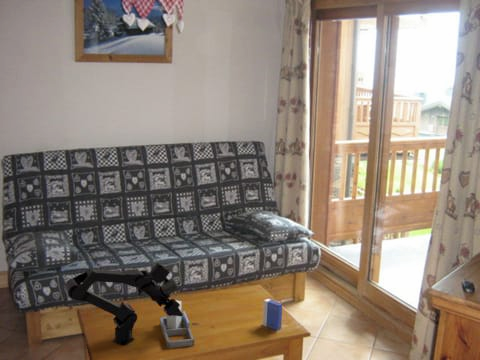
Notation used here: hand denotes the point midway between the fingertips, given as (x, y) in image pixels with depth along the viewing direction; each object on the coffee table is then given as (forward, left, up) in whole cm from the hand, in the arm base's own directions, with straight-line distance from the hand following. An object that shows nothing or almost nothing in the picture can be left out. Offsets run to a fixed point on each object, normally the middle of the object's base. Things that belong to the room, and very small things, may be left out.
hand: (177, 310), depth 246 cm
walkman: (+26, -31, -8) cm, 41 cm away
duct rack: (-4, -3, -8) cm, 10 cm away
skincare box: (-1, +1, -8) cm, 8 cm away
